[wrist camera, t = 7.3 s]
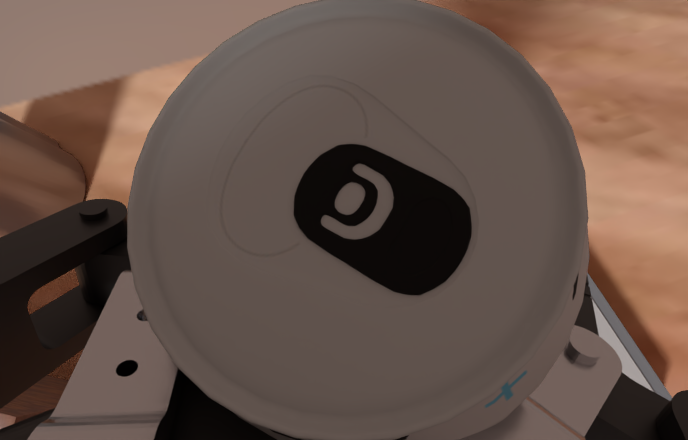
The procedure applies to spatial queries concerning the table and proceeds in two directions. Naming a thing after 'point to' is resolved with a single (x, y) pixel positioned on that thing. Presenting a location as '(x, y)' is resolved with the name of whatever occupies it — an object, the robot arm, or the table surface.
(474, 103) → the energy drink can
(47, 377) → the tissue box cover
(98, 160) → the table surface
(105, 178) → the table surface
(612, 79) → the table surface
